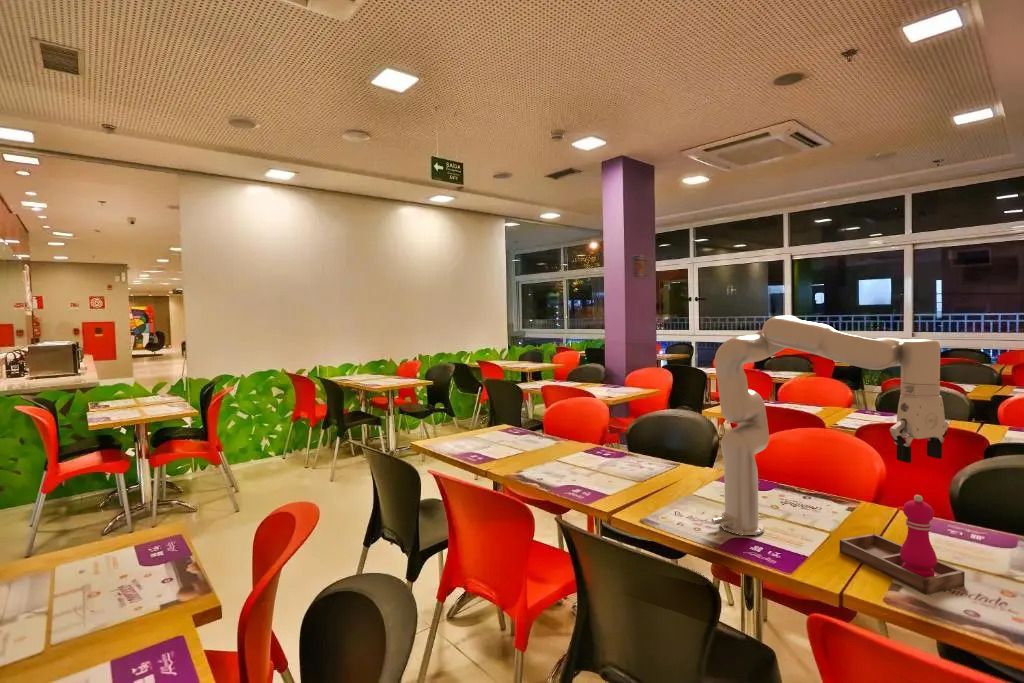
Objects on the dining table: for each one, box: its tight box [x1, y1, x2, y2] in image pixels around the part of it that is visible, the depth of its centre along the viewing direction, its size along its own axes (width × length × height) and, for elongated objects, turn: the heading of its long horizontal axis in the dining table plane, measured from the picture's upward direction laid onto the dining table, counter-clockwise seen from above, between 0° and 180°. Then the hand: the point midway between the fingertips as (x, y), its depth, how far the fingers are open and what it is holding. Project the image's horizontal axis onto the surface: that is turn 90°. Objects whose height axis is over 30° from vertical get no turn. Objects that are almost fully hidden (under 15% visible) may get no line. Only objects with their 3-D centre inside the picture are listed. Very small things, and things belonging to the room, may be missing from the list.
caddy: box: [839, 533, 966, 596], centre depth 135 cm, size 12×23×4 cm, turn 15°
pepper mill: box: [900, 494, 938, 578], centre depth 129 cm, size 7×7×20 cm
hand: (919, 459), depth 128 cm, fingers open, 9 cm apart
